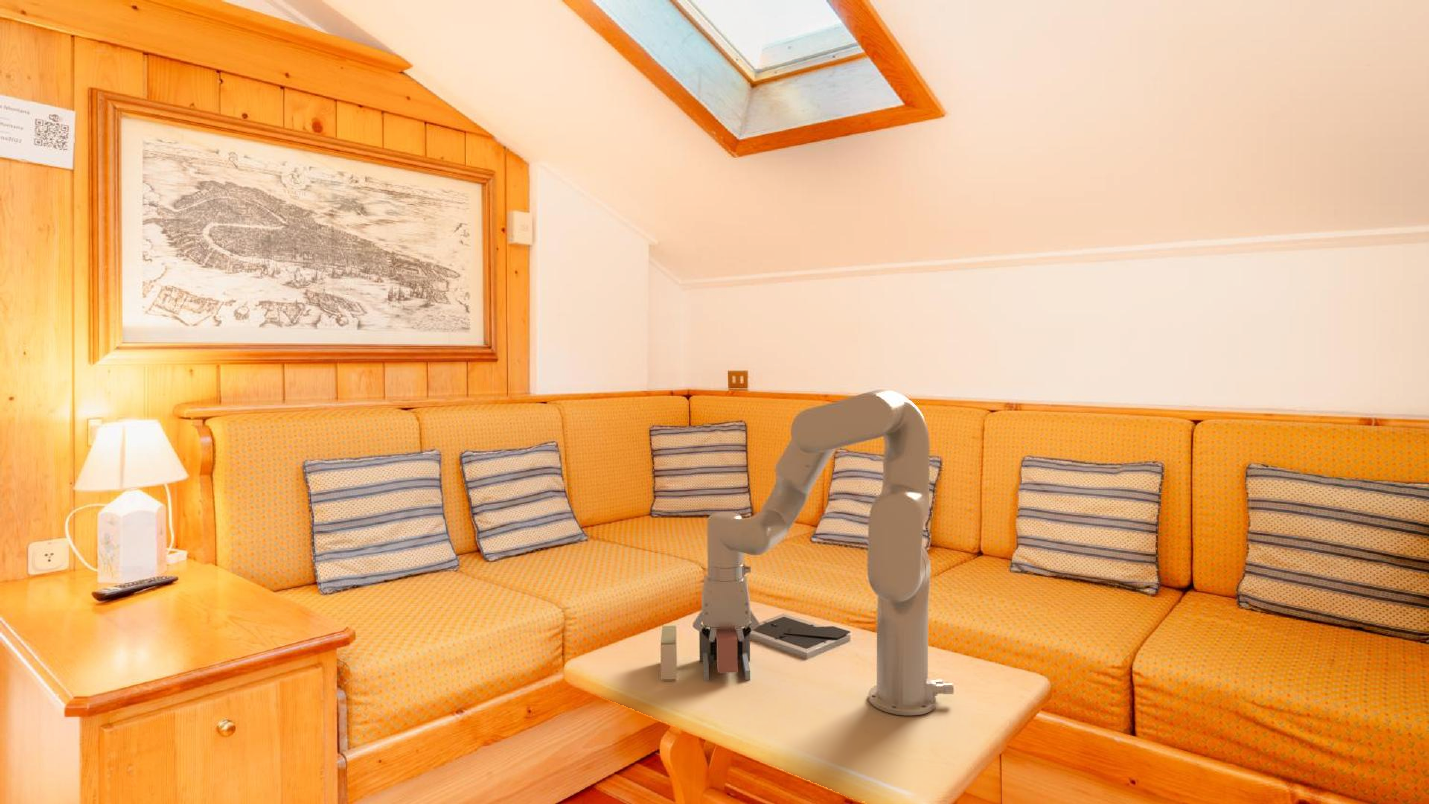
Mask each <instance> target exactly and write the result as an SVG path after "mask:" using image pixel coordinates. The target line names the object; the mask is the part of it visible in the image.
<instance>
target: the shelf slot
mask: <svg viewBox="0 0 1429 804" xmlns="http://www.w3.org/2000/svg"><path fill="white" fill-rule="evenodd" d="M707 628H708V629H709V630H710V628H709V627H707ZM743 628H744V627H742V629H743ZM698 632H699V634H698V637H699V646H698V647H699V663H702V665H703V670H702V671H703V681H704V682H710V674H709V673H710V672H709V671H710V670H709V668H710V667H709V663H711V662H712V663H715V662H716V663H717V660H716V661H714V656H713V655H710V641H709V639H708V638H707V637H706V636H704V635H703V634H702V632H700V631H698ZM736 634H737V630H736ZM715 636H716V635H715ZM737 661H738V662H742V669H743V673H744V674H743V675H744V679H745V681H750V680H751V667H750V663H749V662H750V661H751V639H750V633H749V634H748V635H747V636H746V637H745V638H744V641H743V655H740V660H737Z"/></svg>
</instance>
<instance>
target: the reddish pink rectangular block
mask: <svg viewBox="0 0 1429 804" xmlns="http://www.w3.org/2000/svg"><path fill="white" fill-rule="evenodd" d="M716 639H717V662H716V667H717V673H718V674H719V673H720V674H725V673H730V674H731V673H738V670H739V669H738V662H739V661H737V634H736V627H732V628H717V630H716Z"/></svg>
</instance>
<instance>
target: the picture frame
mask: <svg viewBox="0 0 1429 804" xmlns="http://www.w3.org/2000/svg"><path fill="white" fill-rule="evenodd" d="M850 633H851V630H847V629H843V628H840V627H837V626H835V625H834V626H832V625H831V626H828V625H827V626H824V625H822V624H817V623H815V622H811V621H807V620H804V619H801V618H798V617H795V616H792V615H788V614H785V613H782V614H779V615H776V616H774V617H771V618H767V619H765V620H761V621H759V627H757V628H756V629H754V630H752V631H751V632H750V641H751V640H752V641H755V642H757V643H760V644H763V645H765V646H768V647H771V648H774V649H777V650H780V651H783V652H784V653H785V652H786V653H788V654H790V655H793V656H797V657H800V658H802V659H805V660H809V659H811V658H813V657H816V656H818V655H821V654H823V653H825V652H827V651H830V650H833V649H834V648H837V647H840V646H841V645H844V644H846V643H849V642H851V634H850Z"/></svg>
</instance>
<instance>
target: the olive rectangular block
mask: <svg viewBox="0 0 1429 804" xmlns="http://www.w3.org/2000/svg"><path fill="white" fill-rule="evenodd" d="M661 628H662V629H661V637H660V639H661V640H660V681H661V682H676V681H677V668H678V667H677V665H678V663H677V662H678V660H677V658H678V653H677V651H678V649H677V625H662V626H661Z"/></svg>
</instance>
